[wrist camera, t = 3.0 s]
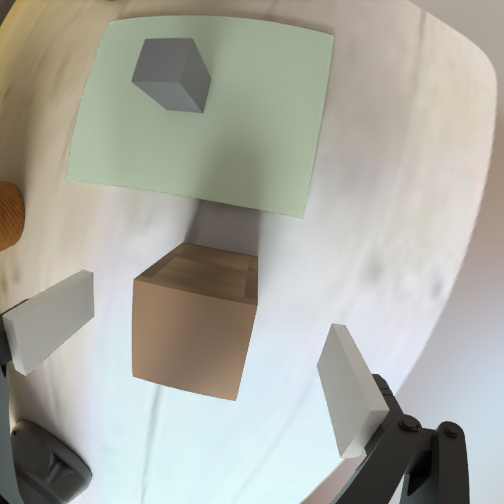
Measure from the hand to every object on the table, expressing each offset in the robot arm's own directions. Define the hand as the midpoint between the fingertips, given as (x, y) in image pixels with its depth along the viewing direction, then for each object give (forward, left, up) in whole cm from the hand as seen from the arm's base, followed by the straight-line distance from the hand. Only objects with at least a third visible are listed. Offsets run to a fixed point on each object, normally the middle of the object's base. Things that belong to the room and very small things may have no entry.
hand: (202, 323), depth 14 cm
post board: (-4, +13, -7) cm, 15 cm away
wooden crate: (0, 0, -7) cm, 7 cm away
